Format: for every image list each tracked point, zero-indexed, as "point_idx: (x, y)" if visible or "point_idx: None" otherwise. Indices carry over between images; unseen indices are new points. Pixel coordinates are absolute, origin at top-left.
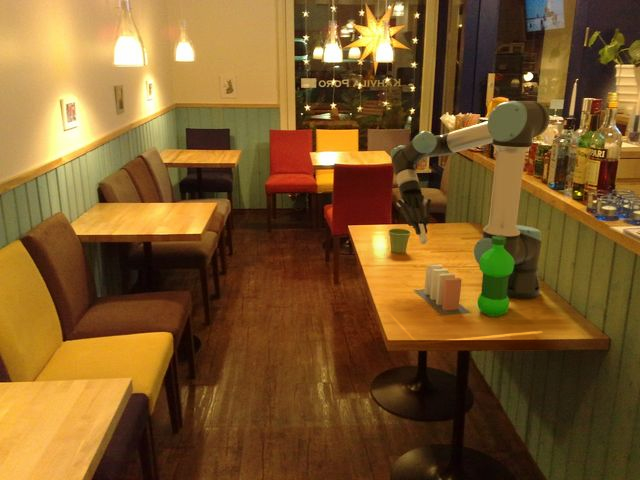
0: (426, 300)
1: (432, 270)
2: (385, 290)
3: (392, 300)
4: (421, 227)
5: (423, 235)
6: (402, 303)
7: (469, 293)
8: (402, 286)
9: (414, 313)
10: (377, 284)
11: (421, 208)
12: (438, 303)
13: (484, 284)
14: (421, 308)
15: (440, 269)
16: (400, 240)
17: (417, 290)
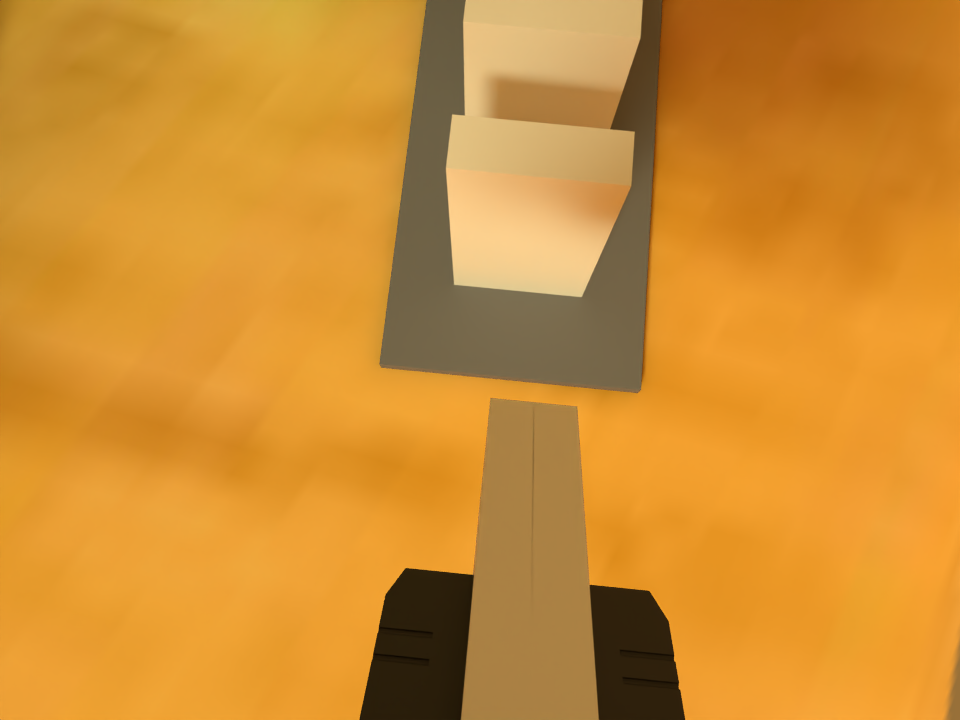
0: (642, 155)
1: (638, 39)
2: (869, 492)
3: (892, 268)
4: (555, 656)
5: (557, 477)
6: (836, 192)
7: (184, 225)
8: (672, 543)
9: (823, 12)
10: (889, 663)
11: None
12: None
13: None
14: (732, 72)
15: (547, 14)
16: None
17: (608, 370)
